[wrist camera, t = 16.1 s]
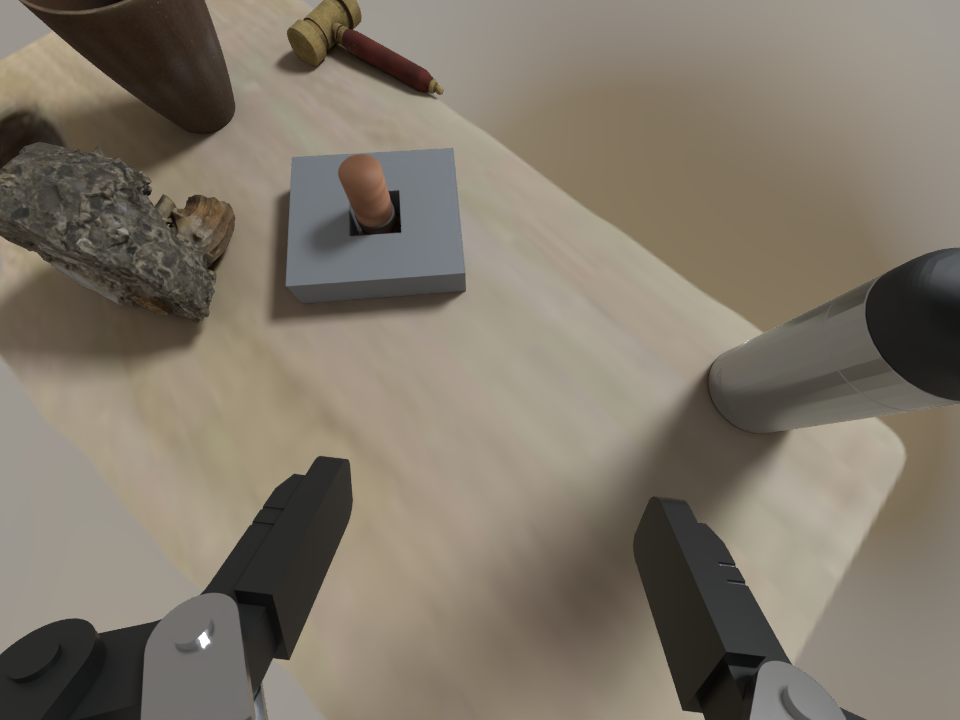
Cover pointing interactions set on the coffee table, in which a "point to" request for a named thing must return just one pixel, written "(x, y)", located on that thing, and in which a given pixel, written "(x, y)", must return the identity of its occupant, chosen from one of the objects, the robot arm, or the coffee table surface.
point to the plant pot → (151, 53)
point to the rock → (114, 229)
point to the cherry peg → (368, 194)
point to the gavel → (352, 43)
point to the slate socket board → (381, 257)
